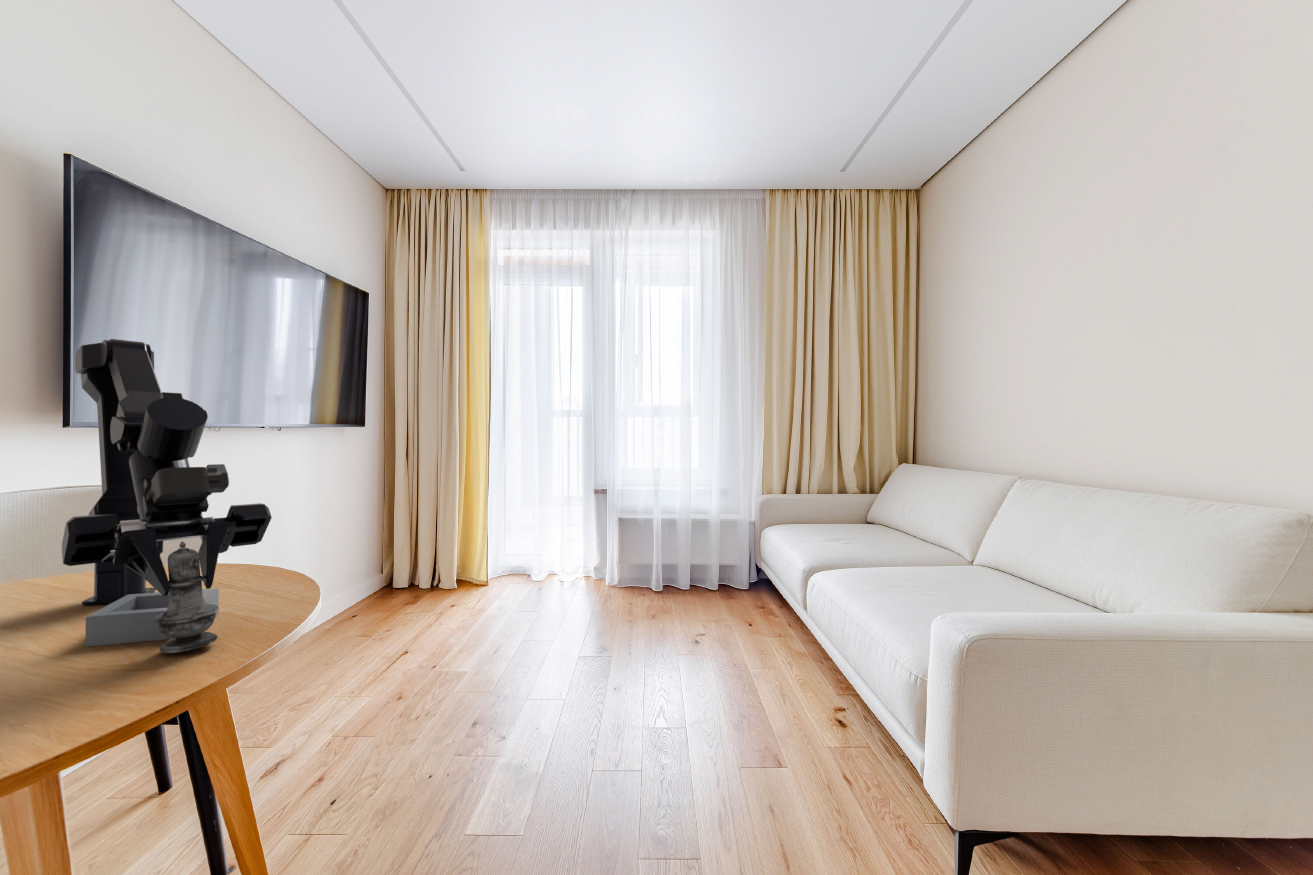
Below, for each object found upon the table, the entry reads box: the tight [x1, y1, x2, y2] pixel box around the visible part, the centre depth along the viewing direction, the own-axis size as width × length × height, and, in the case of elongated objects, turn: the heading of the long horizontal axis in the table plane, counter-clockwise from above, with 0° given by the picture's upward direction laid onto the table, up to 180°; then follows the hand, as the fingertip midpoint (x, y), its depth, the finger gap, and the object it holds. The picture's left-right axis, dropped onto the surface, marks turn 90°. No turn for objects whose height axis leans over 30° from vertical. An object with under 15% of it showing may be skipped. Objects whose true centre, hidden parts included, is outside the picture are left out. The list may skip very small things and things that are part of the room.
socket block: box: [85, 588, 220, 648], centre depth 74 cm, size 10×10×4 cm
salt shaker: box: [154, 541, 220, 654], centre depth 67 cm, size 6×6×12 cm
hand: (188, 589), depth 66 cm, fingers closed on salt shaker, 4 cm apart
